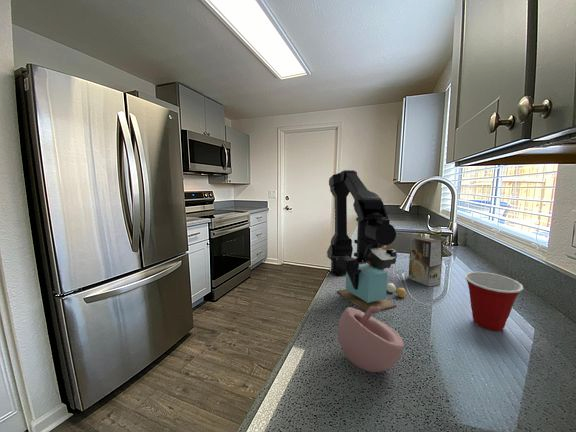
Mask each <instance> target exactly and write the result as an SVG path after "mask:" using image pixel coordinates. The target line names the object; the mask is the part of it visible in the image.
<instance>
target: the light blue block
mask: <svg viewBox="0 0 576 432" xmlns="http://www.w3.org/2000/svg"><path fill="white" fill-rule="evenodd" d="M359 269H360V270H362V271H361V272H360V273H359V278H358V288H357V290H355V289H354V287H353V285H352V283H351V280H350V278H349V276H348V274H347V272H346V275H345V289H346V290H348V291H349V292H351V293H353V294H354V295H356V296H357V297H359V298H361V299H362V300H364V301H366V302H367V303H369V302H373V301H377V300H381V299H386V300H387V292H388V291H387V284H388V271H385V270H381V269H377V268H376V267H373V266H371V265H368V263H365V264H359Z"/></svg>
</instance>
